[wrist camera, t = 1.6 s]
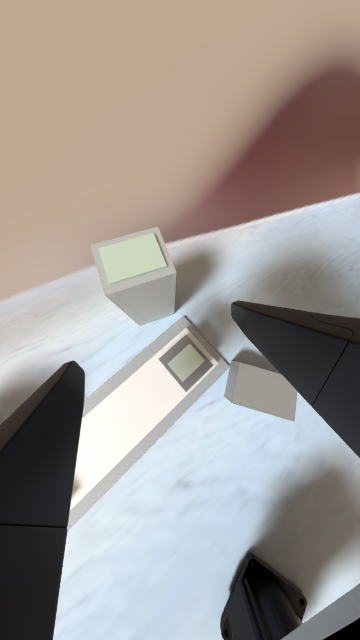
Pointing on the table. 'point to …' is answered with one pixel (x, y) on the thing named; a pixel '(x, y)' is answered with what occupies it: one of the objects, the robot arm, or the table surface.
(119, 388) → the rail
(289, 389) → the block
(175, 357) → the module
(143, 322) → the panel
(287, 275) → the table surface
